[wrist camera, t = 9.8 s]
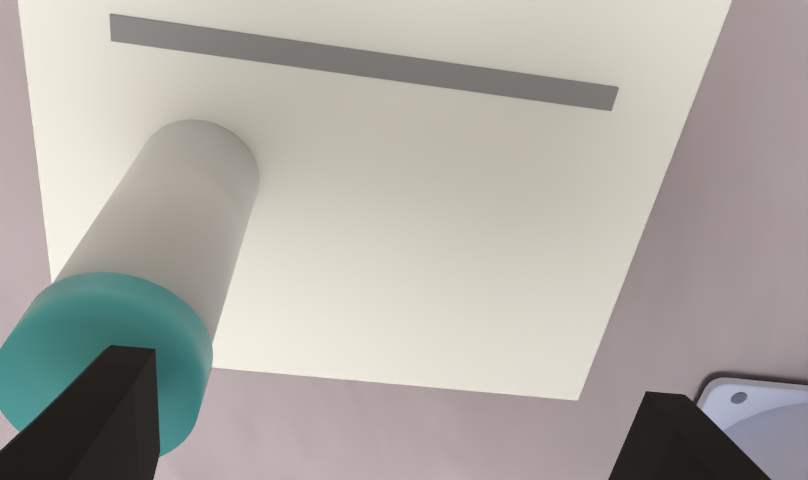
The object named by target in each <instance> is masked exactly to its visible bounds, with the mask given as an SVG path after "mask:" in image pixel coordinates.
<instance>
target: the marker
mask: <svg viewBox="0 0 808 480" xmlns="http://www.w3.org/2000/svg"><path fill="white" fill-rule="evenodd" d="M258 187H259V171H258V166H257V163H256V160H255V158H254V156H253V154H252V153H251V151H250V149H249V148H248V147H247V145H246V144H245V143H244V142H243V141H242V140H241V139H240V138H239V137H238V136H237V135H235V134H234V133H233V132H231V131H230V130H228V129H226V128H224V127H222V126H220V125H218V124H215V123H212V122H209V121H203V120H194V119H191V120H181V121H176V122H173V123H170V124H167V125H165V126H163V127H162V128H160V129H159V130H157V131H156V132H155V133H154V134H153V135H152V136H151V137H150V138H149V139H148V141H147V142H146V143H145V145H144V146H143V148H142V149H141V151H140V152H139V154H138V155H137V157H136V158H135V160H134V161H133V163H132V164H131V166H130V167H129V169H128V170H127V172H126V173H125V175H124V176H123V178H122V179H121V181H120V182H119V184H118V185H117V187H116V188H115V190H114V191H113V193H112V195H111V196H110V198H109V199H108V201H107V202H106V204H105V205H104V207H103V208H102V210H101V211H100V213H99V214H98V216H97V217H96V219H95V220H94V222H93V223H92V225H91V226H90V228H89V229H88V231H87V232H86V234H85V235H84V237H83V238H82V240H81V241H80V243H79V244H78V246H77V247H76V249H75V250H74V252H73V253H72V255H71V256H70V258H69V259H68V261H67V262H66V264H65V265H64V267H63V268H62V270H61V271H60V273H59V274H58V276H57V277H56V279H55V280H54V282H53V283H52V285H50V286H49V287H47V288H46V289H44V290H43V291H42V292H41V293H40V294H39V295H38V296H37V297H36V298H35V299H34V301H33V302H32V303H31V305H30V306H29V308H28V309H27V311H26V312H25V313H24V315H23V316H22V318H21V319H20V321H19V322H18V324H17V325H16V327H15V328H14V330H13V331H12V333H11V334H10V336H9V337H8V338H7V340H6V341H5V343H4V344H3V346H2V347H1V349H0V409H1V411H2V412H3V414H4V415H5V417H6V418H7V419H8V420H9V422H10V423H11V424H12V425H13V426H14V427H15V428H16V429H17V430H18V431H19V432H21V431H22V430H23V429H24V428H25V427H26V426H27V425H28V424H29V423H31V422H32V421H33V420H34V419H35V418H36V417H37V416H38V415H39V414H40V413H41V412H42V411H43V410H44V409H45V408H46V407H47V406H48V405H49V404H50V403H51V402H52V401H53V400H54V399H55V398H57V397H58V396H59V395H60V394H61V393H62V392H63V391H64V390H65V389H66V388H67V387H68V386H69V385H70V384H71V383H72V382H73V381H74V380H75V379H76V378H77V377H78V376H79V375H80V374H81V373H82V372H83V371H84V369H85V368H86V367H87V366H88V365H89V364H90V363H91V362H92V361H93V360H94V359H95V358H96V357H97V356H98V355H99V354H100V353H101V352H102V351H103V350H105V349H106V348H107V347H109V346H110V345H118V346H129V347H141V348H152V349H156V369H157V391H158V412H159V433H160V455H159V457H160V456H162V455H164V454H166V453H168V452H170V451H172V450H173V449H175V448H176V447H177V446H179V445H180V444H181V443H182V442H183V441H184V440H185V439H186V438H187V437H188V435H189V434H190V433H191V431H192V429H193V427H194V425H195V423H196V420H197V417H198V413H199V410H200V406H201V403H202V399H203V396H204V392H205V389H206V385H207V382H208V378H209V375H210V371H211V368H212V362H213V347H212V344H213V341H214V337H215V334H216V330H217V327H218V324H219V320H220V317H221V313H222V310H223V307H224V303H225V300H226V296H227V293H228V290H229V286H230V283H231V279H232V276H233V273H234V269H235V266H236V262H237V259H238V256H239V252H240V249H241V245H242V242H243V239H244V235H245V232H246V228H247V225H248V222H249V218H250V215H251V211H252V208H253V205H254V201H255V198H256V195H257V191H258Z"/></svg>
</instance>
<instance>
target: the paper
mask: <svg viewBox="0 0 808 480" xmlns="http://www.w3.org/2000/svg"><path fill="white" fill-rule="evenodd" d="M731 2H732V0H18V7H19V15H20V23H21V32H22V40H23V48H24V56H25V65H26V73H27V81H28V90H29V98H30V106H31V114H32V123H33V131H34V139H35V148H36V156H37V164H38V172H39V181H40V189H41V197H42V206H43V214H44V222H45V230H46V239H47V247H48V255H49V264H50V272H51V280H52V283H53V282H54V280H55V279H56V277H57V276H58V274H59V273H60V271H61V270H62V268H63V267H64V265H65V264H66V262H67V261H68V259H69V258H70V256H71V255H72V253H73V252H74V250H75V249H76V247H77V246H78V244H79V243H80V241H81V240H82V238H83V237H84V235H85V234H86V232H87V231H88V229H89V228H90V226H91V225H92V223H93V222H94V220H95V219H96V217H97V216H98V214H99V213H100V211H101V210H102V208H103V207H104V205H105V204H106V202H107V201H108V199H109V198H110V196H111V195H112V193H113V191H114V190H115V188H116V187H117V185H118V184H119V182H120V181H121V179H122V178H123V176H124V175H125V173H126V172H127V170H128V169H129V167H130V166H131V164H132V163H133V161H134V160H135V158H136V157H137V155H138V154H139V152H140V151H141V149H142V148H143V146H144V145H145V143H146V142H147V141H148V139H149V138H150V137H151V136H152V135H153V134H154V133H155V132H156V131H157V130H159V129H160V128H162V127H163V126H165V125H167V124H170V123H173V122H176V121H181V120H191V119H194V120H203V121H209V122H212V123H215V124H218V125H220V126H222V127H224V128H226V129H228V130H230V131H231V132H233V133H234V134H235V135H237V136H238V137H239V138H240V139H241V140H242V141H243V142H244V143H245V144H246V145H247V147H248V148H249V149H250V151H251V153H252V154H253V156H254V158H255V160H256V163H257V166H258V171H259V187H258V191H257V195H256V198H255V201H254V205H253V208H252V211H251V215H250V218H249V222H248V225H247V228H246V232H245V235H244V239H243V242H242V245H241V249H240V252H239V256H238V259H237V262H236V266H235V269H234V273H233V276H232V279H231V283H230V286H229V290H228V293H227V296H226V300H225V303H224V307H223V310H222V313H221V317H220V320H219V324H218V327H217V330H216V334H215V337H214V341H213V344H212V347H213V362H212V367H213V368H224V369H235V370H246V371H257V372H268V373H279V374H290V375H302V376H313V377H324V378H335V379H346V380H357V381H368V382H379V383H390V384H401V385H412V386H423V387H434V388H445V389H456V390H467V391H478V392H489V393H500V394H511V395H522V396H533V397H544V398H555V399H566V400H577V401H578V399H579V396H580V394H581V391H582V388H583V386H584V383H585V381H586V378H587V375H588V373H589V370H590V368H591V365H592V363H593V360H594V357H595V355H596V352H597V350H598V347H599V344H600V342H601V339H602V337H603V334H604V331H605V329H606V326H607V324H608V321H609V319H610V316H611V313H612V311H613V308H614V306H615V303H616V300H617V298H618V295H619V293H620V290H621V287H622V285H623V282H624V280H625V277H626V274H627V272H628V269H629V267H630V264H631V262H632V259H633V256H634V254H635V251H636V249H637V246H638V243H639V241H640V238H641V236H642V233H643V230H644V228H645V225H646V223H647V220H648V217H649V215H650V212H651V210H652V207H653V205H654V202H655V199H656V197H657V194H658V192H659V189H660V186H661V184H662V181H663V179H664V176H665V173H666V171H667V168H668V166H669V163H670V160H671V158H672V155H673V153H674V150H675V148H676V145H677V142H678V140H679V137H680V135H681V132H682V129H683V127H684V124H685V122H686V119H687V116H688V114H689V111H690V109H691V106H692V104H693V101H694V98H695V96H696V93H697V91H698V88H699V85H700V83H701V80H702V78H703V75H704V72H705V70H706V67H707V65H708V62H709V59H710V57H711V54H712V52H713V49H714V47H715V44H716V41H717V39H718V36H719V34H720V31H721V28H722V26H723V23H724V21H725V18H726V15H727V13H728V10H729V8H730V5H731Z"/></svg>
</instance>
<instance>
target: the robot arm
mask: <svg viewBox="0 0 808 480" xmlns="http://www.w3.org/2000/svg"><path fill="white" fill-rule="evenodd" d="M738 392H739V393H738ZM736 393H738V394H736ZM734 394H736V395H734ZM159 455H160V433H159V412H158V391H157V369H156V349H152V348H141V347H129V346H118V345H110V346H109V347H107V348H106V349H105V350H103V351H102V352H101V353H100V354H99V355H98V356H97V357H96V358H95V359H94V360H93V361H92V362H91V363H90V364H89V365H88V366H87V367H86V368H85V369H84V371H83V372H82V373H81V374H80V375H79V376H78V377H77V378H76V379H75V380H74V381H73V382H72V383H71V384H70V385H69V386H68V387H67V388H66V389H65V390H64V391H63V392H62V393H61V394H60V395H59V396H58V397H57V398H55V399H54V400H53V401H52V402H51V403H50V404H49V405H48V406H47V407H46V408H45V409H44V410H43V411H42V412H41V413H40V414H39V415H38V416H37V417H36V418H35V419H34V420H33V421H32V422H31V423H29V424H28V425H27V426H26V427H25V428H24V429H23V430H22V431H21V432H20V433H19V434H18V435H16V436H15V437H14V438H13V439H12V440H11V441H10V442H9V443H8V444H7V445H6V446H5V447H4V448H2V449H1V450H0V480H153V478H154V474H155V470H156V466H157V462H158V458H159ZM608 480H808V385H798V384H788V383H778V382H767V381H757V380H747V379H736V378H726V377H725V378H717V379H714V380H713V381H711V382H710V383H708V385H707V386H706V387H705V389H704V391H703V393H702V395H701V397H700V399H699V401H698V403H697V405H696V404H694V403H693V402H692V401H691V400H690V399H689V398H688V397H687V396H686V395H682V394H671V393H659V392H648V391H646V393H645V395H644V398H643V400H642V402H641V405H640V407H639V409H638V412H637V414H636V416H635V419H634V421H633V423H632V426H631V428H630V430H629V433H628V435H627V437H626V440H625V442H624V444H623V447H622V449H621V451H620V454H619V456H618V458H617V461H616V463H615V465H614V468H613V470H612V472H611V475H610V477H609V479H608Z"/></svg>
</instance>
